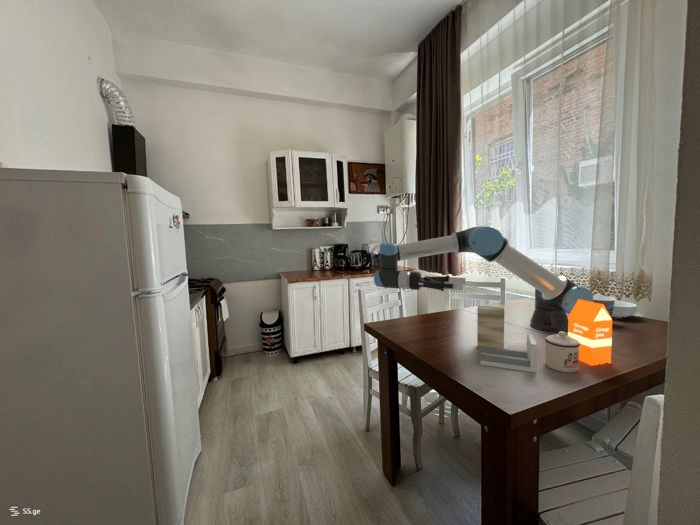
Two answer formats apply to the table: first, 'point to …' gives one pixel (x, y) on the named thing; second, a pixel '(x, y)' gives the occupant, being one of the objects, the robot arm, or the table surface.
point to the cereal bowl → (623, 309)
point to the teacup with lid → (562, 352)
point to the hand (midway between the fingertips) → (464, 283)
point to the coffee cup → (605, 303)
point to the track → (511, 357)
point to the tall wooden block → (490, 327)
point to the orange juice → (591, 332)
